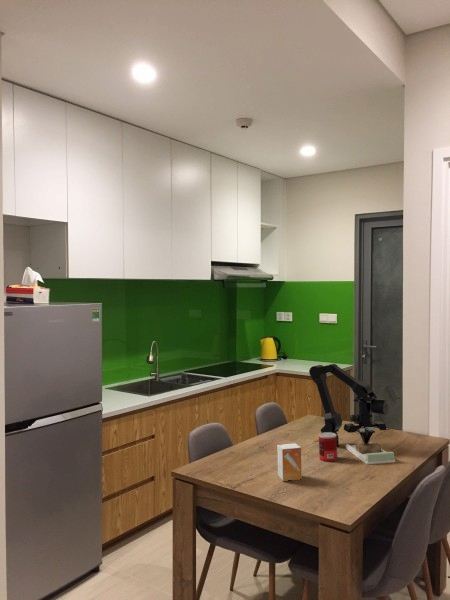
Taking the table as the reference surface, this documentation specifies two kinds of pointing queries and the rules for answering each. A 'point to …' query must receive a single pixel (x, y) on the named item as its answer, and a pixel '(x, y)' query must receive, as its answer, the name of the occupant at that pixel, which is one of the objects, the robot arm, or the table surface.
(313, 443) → the table surface
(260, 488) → the table surface
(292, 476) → the small box
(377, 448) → the block
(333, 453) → the canned food
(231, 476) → the table surface
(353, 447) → the track
